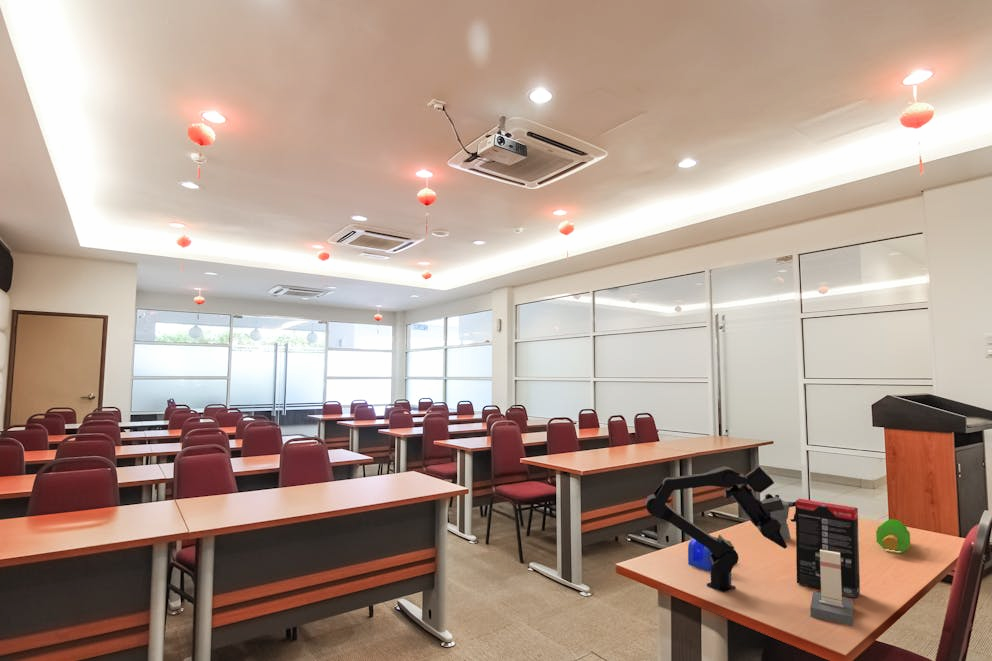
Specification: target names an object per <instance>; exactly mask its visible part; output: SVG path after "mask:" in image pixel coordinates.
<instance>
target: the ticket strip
mask: <svg viewBox="0 0 992 661" xmlns="http://www.w3.org/2000/svg"><path fill="white" fill-rule="evenodd" d="M820 572H821V589H820V593H821V600H822V601H827V602H831V603H836V604H841V605H842V597H843V595H842V590H841V562H840V553H839V552H833V551H827V550H821V549H820Z"/></svg>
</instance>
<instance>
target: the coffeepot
mask: <svg viewBox="0 0 992 661" xmlns="http://www.w3.org/2000/svg"><path fill="white" fill-rule="evenodd" d="M775 496H776V497H779V498H780V495H779V494H775ZM775 496H774V497H775ZM781 501H782V503H783V506H784V508H785V509H784V510H777V511H773V512H770V513H771V515H770V517H774V518H775V519H777V521H778V522H779V523H780V524H781V528H780V533H781V535H782V537H783V539H784V541H785V542H789V541H790V540H791V535H790V528H789V523H787V520H788V518H789V512H790V507H795V501H786V500H782V499H781ZM790 521H791V522H793V523H796V509H795V513H794V515H793V518H792V519H791V518H790Z"/></svg>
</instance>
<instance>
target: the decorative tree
mask: <svg viewBox="0 0 992 661" xmlns="http://www.w3.org/2000/svg"><path fill="white" fill-rule="evenodd" d="M875 535H876V537H875V538H876V543H877V544H878V545H879V546H880V547H882V549H883V550H884V549H889V550H895V551H901V552H902V553H903V552H905V551H907V550H908V549H909V548H910V544H911V532H910V531H909V530H908V529H907V526H906V525H905V524H904V523H903V522H902V521H900V520H899V519H897V520H896V519H891V518H889V519H887V520H886V521H884V522H883V523H882V524H881V525H879V526H878V527H877V528H876V534H875Z"/></svg>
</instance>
